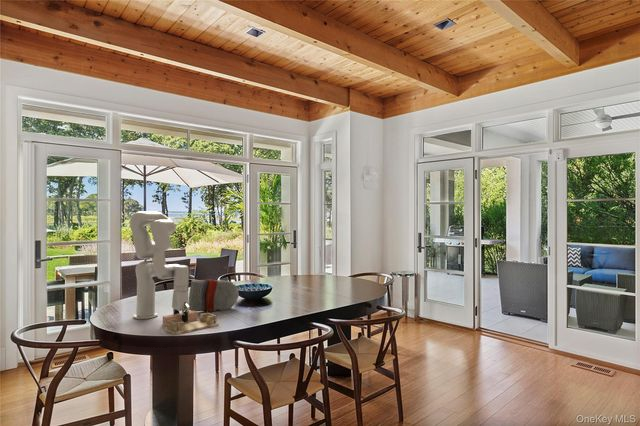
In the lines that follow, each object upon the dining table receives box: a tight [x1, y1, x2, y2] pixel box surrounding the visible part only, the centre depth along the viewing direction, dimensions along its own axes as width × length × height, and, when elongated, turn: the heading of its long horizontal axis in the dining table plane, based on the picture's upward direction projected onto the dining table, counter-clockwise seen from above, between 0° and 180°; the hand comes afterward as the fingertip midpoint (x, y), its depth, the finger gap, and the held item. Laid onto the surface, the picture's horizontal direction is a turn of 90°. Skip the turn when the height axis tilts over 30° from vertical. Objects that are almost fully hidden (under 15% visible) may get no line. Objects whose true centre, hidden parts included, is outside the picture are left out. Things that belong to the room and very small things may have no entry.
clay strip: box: [161, 310, 198, 328], centre depth 213 cm, size 18×4×5 cm, turn 138°
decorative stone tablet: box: [188, 278, 240, 313], centre depth 241 cm, size 19×6×30 cm
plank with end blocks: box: [164, 312, 220, 336], centre depth 204 cm, size 24×12×5 cm, turn 137°
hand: (180, 320), depth 213 cm, fingers open, 8 cm apart
